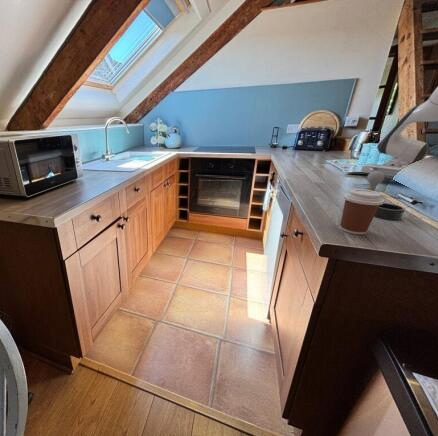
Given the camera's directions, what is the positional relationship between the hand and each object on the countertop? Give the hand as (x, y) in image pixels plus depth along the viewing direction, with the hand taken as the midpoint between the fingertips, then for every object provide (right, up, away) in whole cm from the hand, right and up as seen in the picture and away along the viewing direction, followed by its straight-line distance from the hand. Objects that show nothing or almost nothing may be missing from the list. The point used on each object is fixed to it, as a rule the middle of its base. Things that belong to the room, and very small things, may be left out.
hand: (384, 172), depth 112 cm
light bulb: (-10, -10, -3) cm, 14 cm away
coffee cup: (-46, -25, -37) cm, 64 cm away
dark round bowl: (-27, -20, -28) cm, 44 cm away
